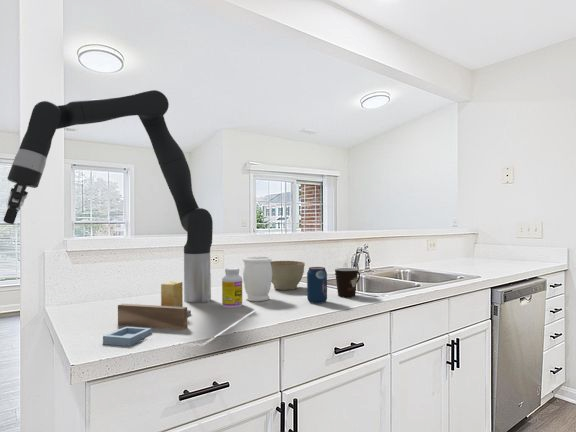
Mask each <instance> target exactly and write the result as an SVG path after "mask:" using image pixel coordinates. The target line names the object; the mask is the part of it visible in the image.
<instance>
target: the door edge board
mask: <svg viewBox="0 0 576 432" xmlns="http://www.w3.org/2000/svg"><path fill="white" fill-rule="evenodd" d="M187 310H188V306H183V307H175V306H161V305H158V304H157V305H153V304H137V303H135V304H133V303H120V304H118V305H117V326H125V327H140V328H153V329H154V328H155V329H169V330H182V331H183V330H185V329H188V316H187Z"/></svg>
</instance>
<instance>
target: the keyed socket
mask: <svg viewBox="0 0 576 432" xmlns="http://www.w3.org/2000/svg"><path fill="white" fill-rule="evenodd" d="M152 330H153V329H152V327H138V326H125V327H121V328H120V329H117V330H114V331H112V332H109V333H107V334H105V335H103V336H102V344H103V345H112V346H113V345H114V346H124V347H125V346H126V347H127V346H128V347H131V346H133V345H135V344H137V343H140V342H141V341H143V340H145V339H146V337H147V336H149V335H151V334H152Z"/></svg>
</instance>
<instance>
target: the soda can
mask: <svg viewBox="0 0 576 432" xmlns="http://www.w3.org/2000/svg"><path fill="white" fill-rule="evenodd" d="M306 285H307V286H306V289H307V290H306V293H307V294H306V295H307V301H308V302H309V303H310V304H313V305H315V304H316V305H318V304H319V305H322V304H326V302H327V300H328V273H327V270H326V267H323V266H311V267H308V271H307V272H306Z"/></svg>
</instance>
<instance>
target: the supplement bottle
mask: <svg viewBox="0 0 576 432" xmlns="http://www.w3.org/2000/svg"><path fill="white" fill-rule="evenodd" d="M224 273H225V275H224V276H223V277H222V279H221V283H222V284H221V291H222V292H221V294H222V295H221V301H222V303H221V304H222V307H223V308H229V309H230V308H231V309H232V308H240V307H242V306H243V276H240V275H239V274H240V268H239V267H226V268H224Z"/></svg>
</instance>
